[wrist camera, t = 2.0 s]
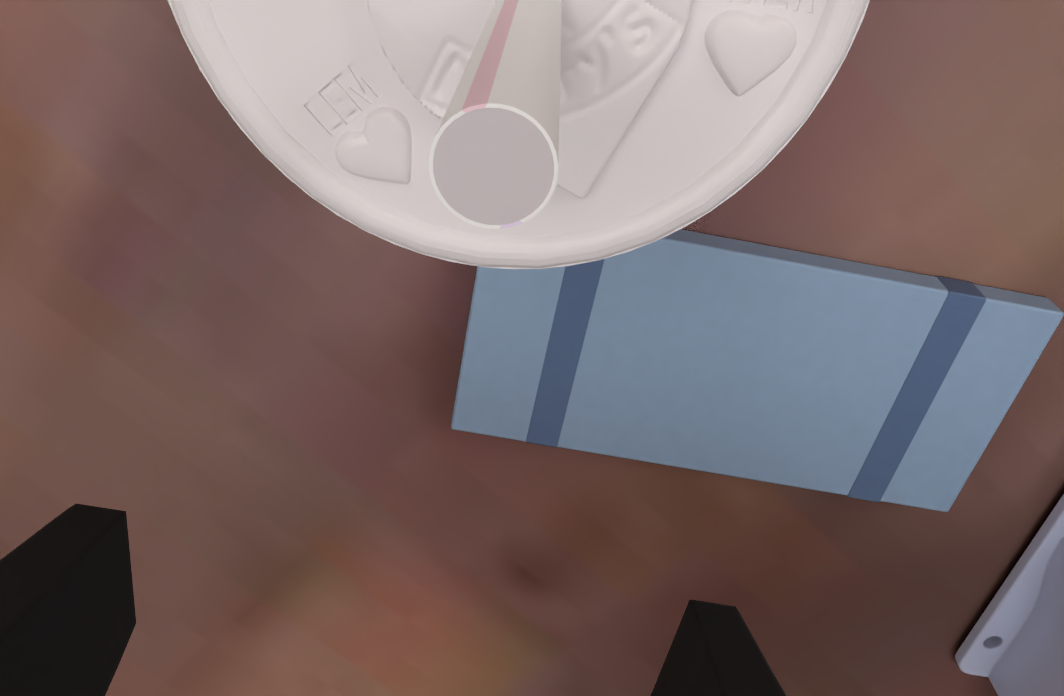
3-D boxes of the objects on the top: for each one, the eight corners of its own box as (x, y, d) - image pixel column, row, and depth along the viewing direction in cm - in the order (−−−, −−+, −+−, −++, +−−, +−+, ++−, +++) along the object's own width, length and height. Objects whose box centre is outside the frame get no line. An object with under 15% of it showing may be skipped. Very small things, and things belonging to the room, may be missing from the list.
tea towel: (936, 493, 22) (948, 514, 22) (453, 412, 21) (450, 431, 21) (1049, 296, 19) (1067, 313, 19) (490, 191, 18) (487, 205, 18)
